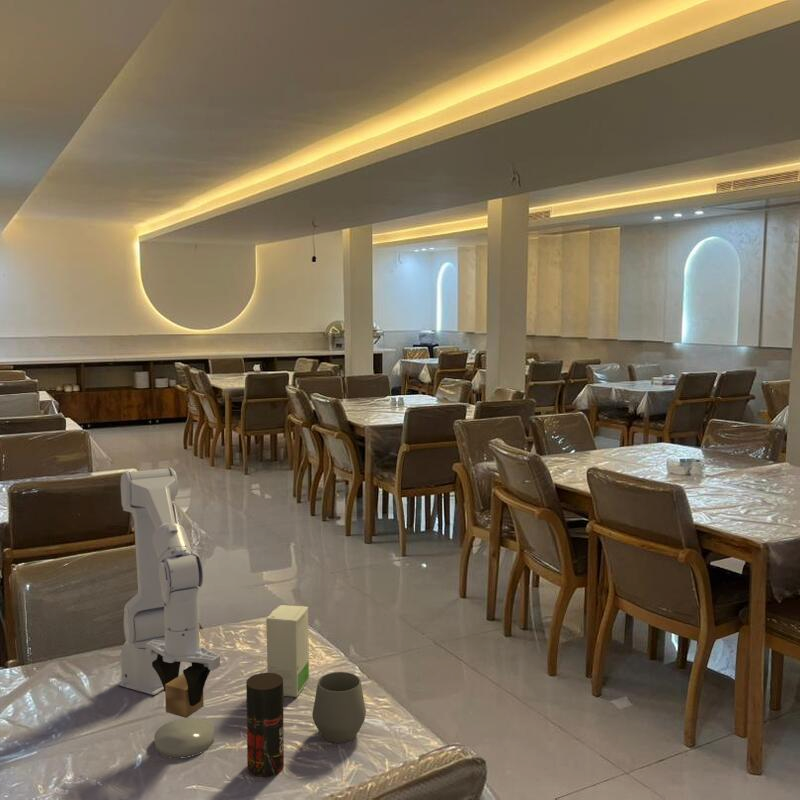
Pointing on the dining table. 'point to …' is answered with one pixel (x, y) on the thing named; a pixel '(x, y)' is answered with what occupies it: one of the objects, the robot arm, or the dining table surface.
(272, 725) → the deodorant
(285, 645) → the skincare box
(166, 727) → the khaki round plate
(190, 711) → the walnut block
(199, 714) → the dining table surface
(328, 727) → the cup
